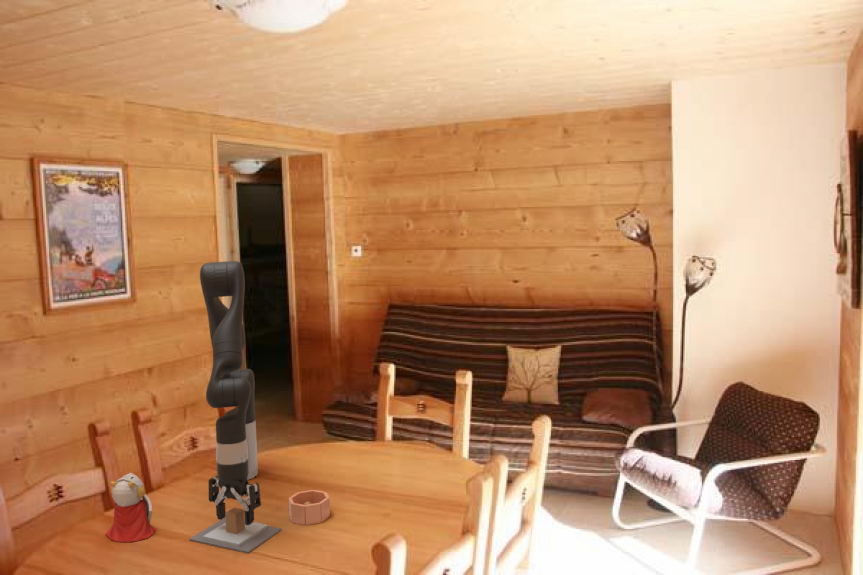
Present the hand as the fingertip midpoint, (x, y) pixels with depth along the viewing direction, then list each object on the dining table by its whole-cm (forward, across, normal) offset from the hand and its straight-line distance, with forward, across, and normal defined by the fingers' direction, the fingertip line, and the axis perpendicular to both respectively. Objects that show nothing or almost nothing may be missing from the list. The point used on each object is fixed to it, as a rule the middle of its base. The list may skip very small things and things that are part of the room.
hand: (235, 521), depth 168 cm
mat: (+4, 0, 0) cm, 4 cm away
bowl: (+4, +11, +16) cm, 20 cm away
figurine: (+4, -26, -8) cm, 27 cm away
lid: (+3, 0, 0) cm, 3 cm away
